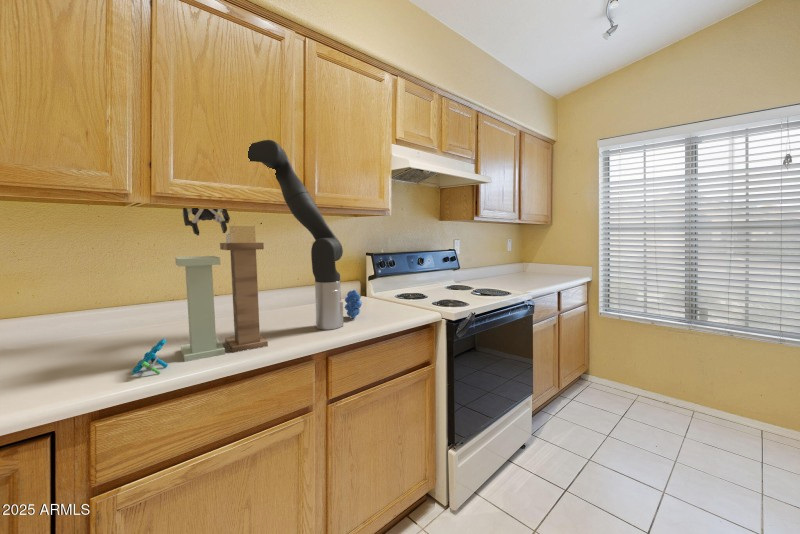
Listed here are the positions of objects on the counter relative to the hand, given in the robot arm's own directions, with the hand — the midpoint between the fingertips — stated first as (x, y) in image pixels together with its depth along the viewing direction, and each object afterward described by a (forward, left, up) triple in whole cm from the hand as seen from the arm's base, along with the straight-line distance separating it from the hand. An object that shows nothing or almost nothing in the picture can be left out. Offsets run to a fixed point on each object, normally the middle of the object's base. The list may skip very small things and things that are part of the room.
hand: (211, 233), depth 122 cm
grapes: (-50, +12, -35) cm, 62 cm away
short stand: (+7, +23, -35) cm, 43 cm away
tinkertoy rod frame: (+20, +31, -36) cm, 51 cm away
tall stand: (-5, +23, -35) cm, 43 cm away
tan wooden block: (-5, +18, -3) cm, 19 cm away
